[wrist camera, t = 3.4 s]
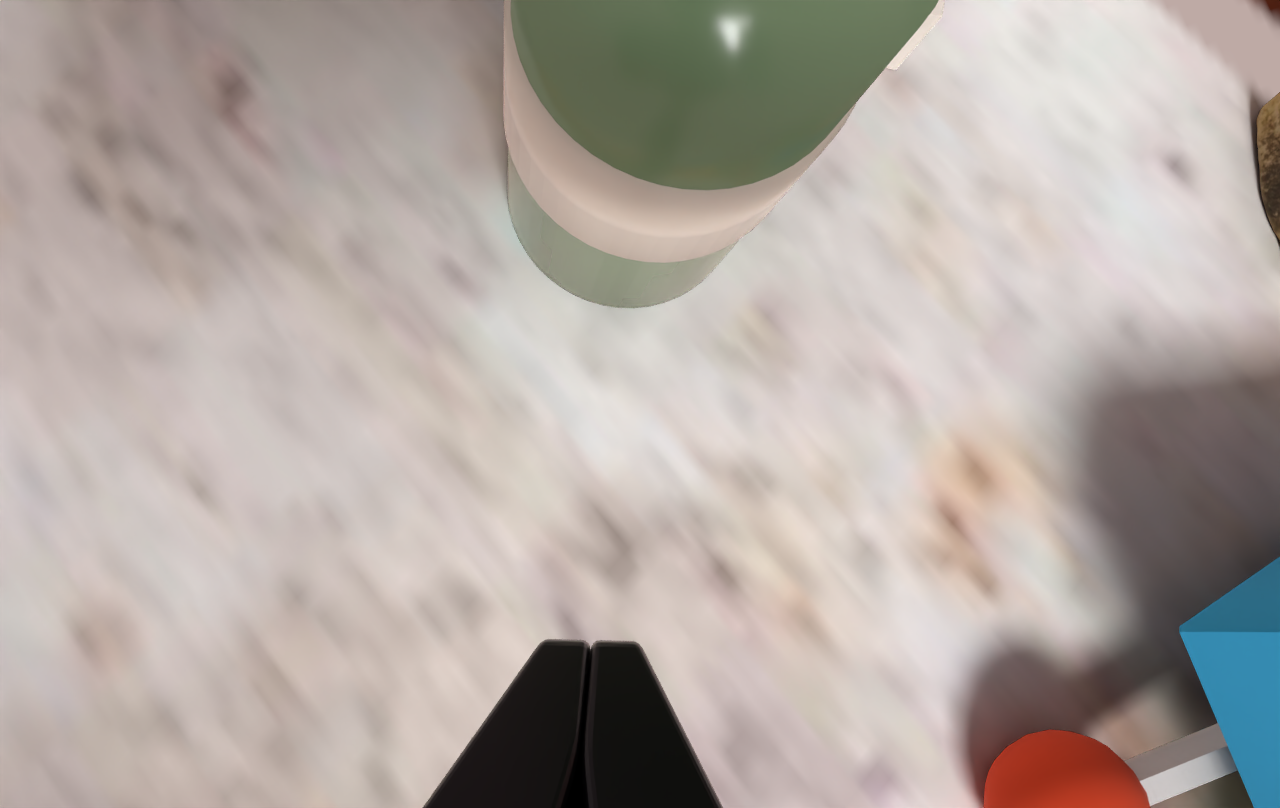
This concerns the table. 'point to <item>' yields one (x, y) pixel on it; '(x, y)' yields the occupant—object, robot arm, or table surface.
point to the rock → (1270, 159)
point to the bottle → (674, 126)
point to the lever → (1241, 740)
